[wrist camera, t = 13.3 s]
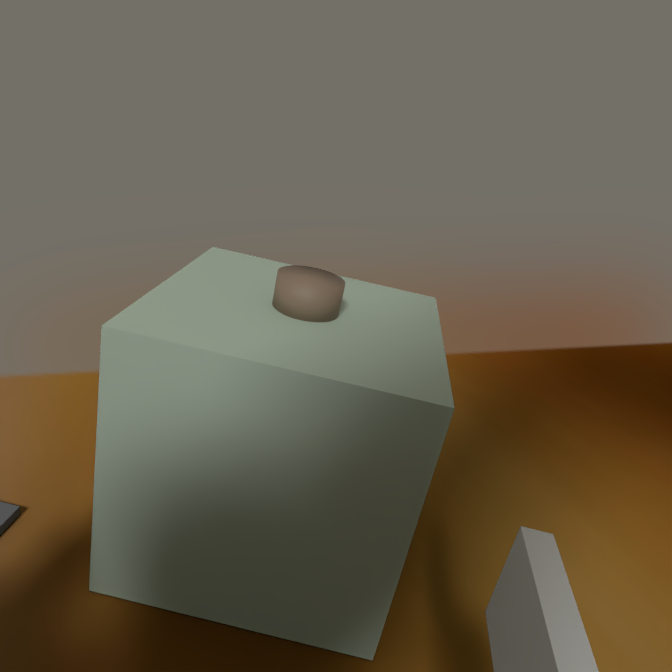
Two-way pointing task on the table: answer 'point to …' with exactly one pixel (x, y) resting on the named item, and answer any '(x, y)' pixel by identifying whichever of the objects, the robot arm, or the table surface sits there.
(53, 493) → the table surface
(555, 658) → the robot arm
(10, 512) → the mat
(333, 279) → the sage green cube
